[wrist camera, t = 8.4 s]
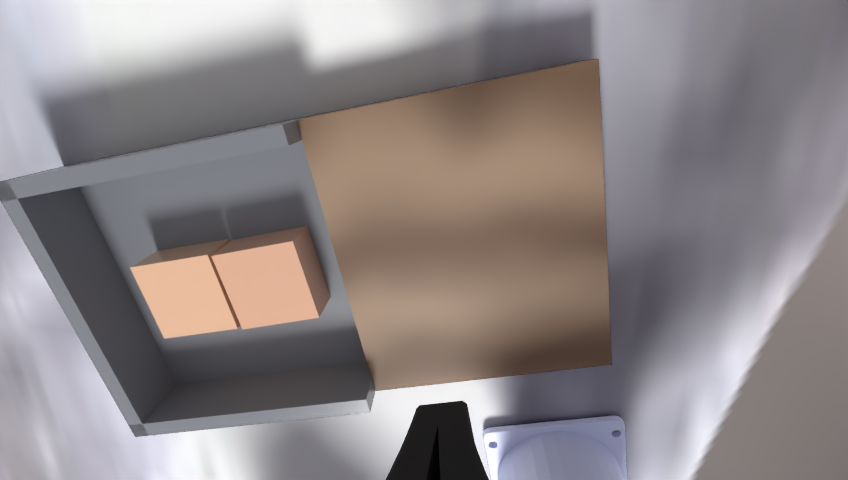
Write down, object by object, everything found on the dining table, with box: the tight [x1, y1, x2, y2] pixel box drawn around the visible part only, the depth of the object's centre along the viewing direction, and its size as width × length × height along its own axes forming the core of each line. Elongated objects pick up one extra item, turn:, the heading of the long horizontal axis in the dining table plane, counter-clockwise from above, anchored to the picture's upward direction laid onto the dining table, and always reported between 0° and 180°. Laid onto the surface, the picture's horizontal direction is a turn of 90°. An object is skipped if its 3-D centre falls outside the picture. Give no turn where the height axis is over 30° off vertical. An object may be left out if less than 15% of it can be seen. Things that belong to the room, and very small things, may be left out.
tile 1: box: [211, 226, 330, 330], centre depth 21 cm, size 4×4×2 cm
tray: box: [0, 116, 375, 437], centre depth 21 cm, size 14×13×4 cm
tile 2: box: [130, 239, 240, 339], centre depth 21 cm, size 4×4×2 cm
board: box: [296, 59, 612, 391], centre depth 20 cm, size 14×12×2 cm
